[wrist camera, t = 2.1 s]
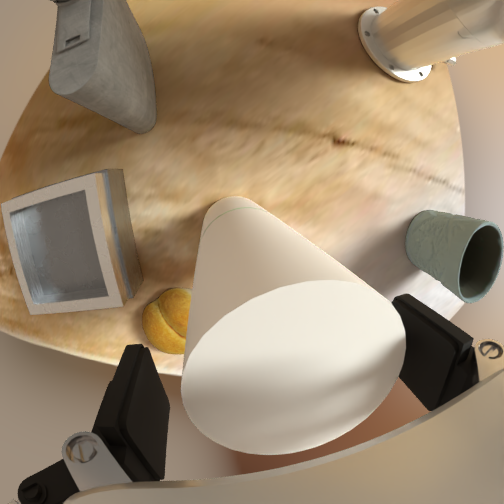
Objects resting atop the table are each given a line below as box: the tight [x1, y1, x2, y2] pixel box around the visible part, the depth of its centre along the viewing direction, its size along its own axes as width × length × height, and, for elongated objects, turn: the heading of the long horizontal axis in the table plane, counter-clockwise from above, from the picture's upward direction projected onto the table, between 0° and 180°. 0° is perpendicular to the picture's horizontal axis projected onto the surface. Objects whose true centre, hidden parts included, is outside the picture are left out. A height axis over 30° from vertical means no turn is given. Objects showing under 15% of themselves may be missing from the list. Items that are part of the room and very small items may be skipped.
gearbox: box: [1, 169, 143, 315], centre depth 25 cm, size 16×13×8 cm
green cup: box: [405, 210, 503, 303], centre depth 30 cm, size 10×10×12 cm
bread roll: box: [142, 288, 192, 354], centre depth 32 cm, size 8×9×4 cm
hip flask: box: [49, 0, 156, 134], centre depth 15 cm, size 16×4×20 cm, turn 14°
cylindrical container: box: [181, 196, 406, 455], centre depth 19 cm, size 7×7×25 cm
